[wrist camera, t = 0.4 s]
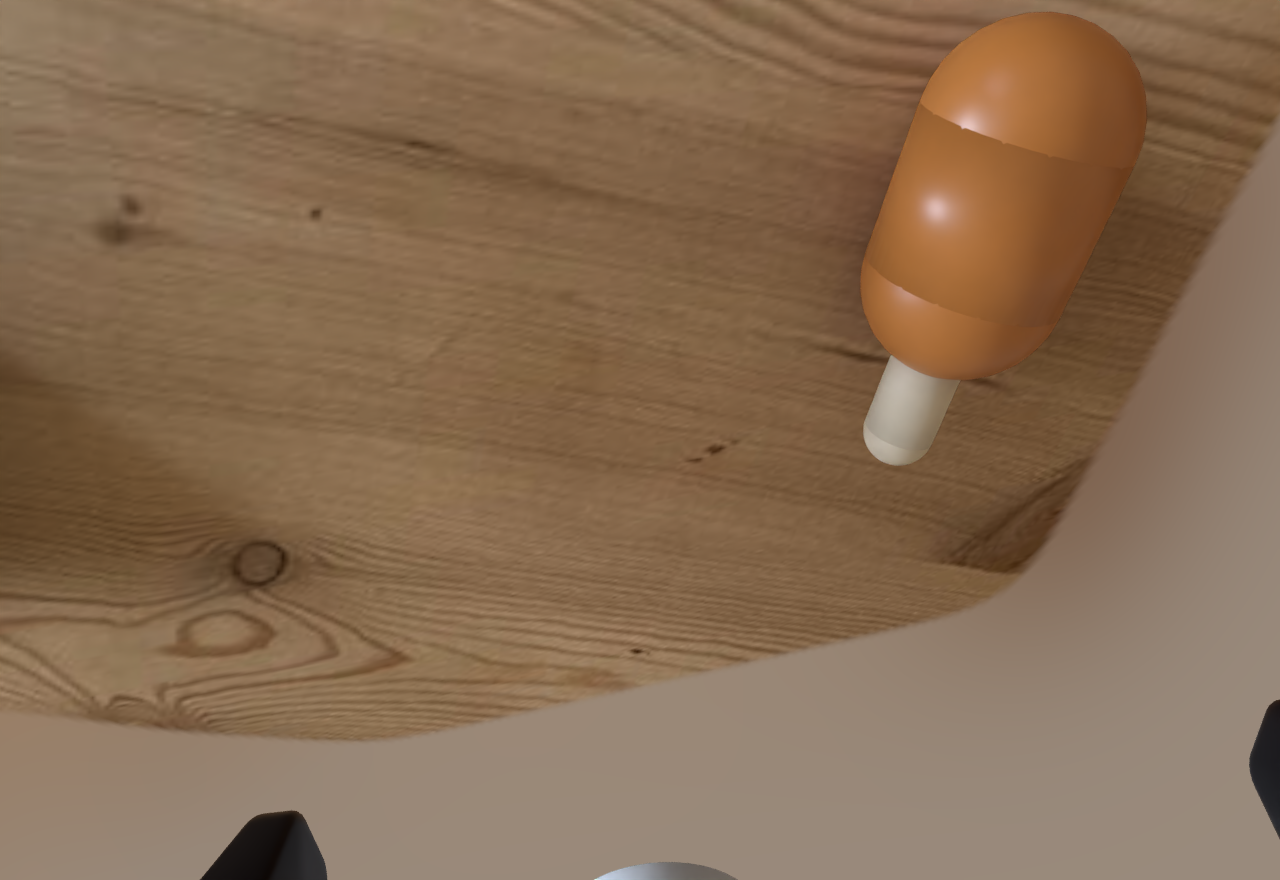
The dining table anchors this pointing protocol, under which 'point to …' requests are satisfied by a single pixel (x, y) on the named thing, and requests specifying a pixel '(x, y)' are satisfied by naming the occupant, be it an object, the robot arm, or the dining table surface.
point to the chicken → (993, 212)
